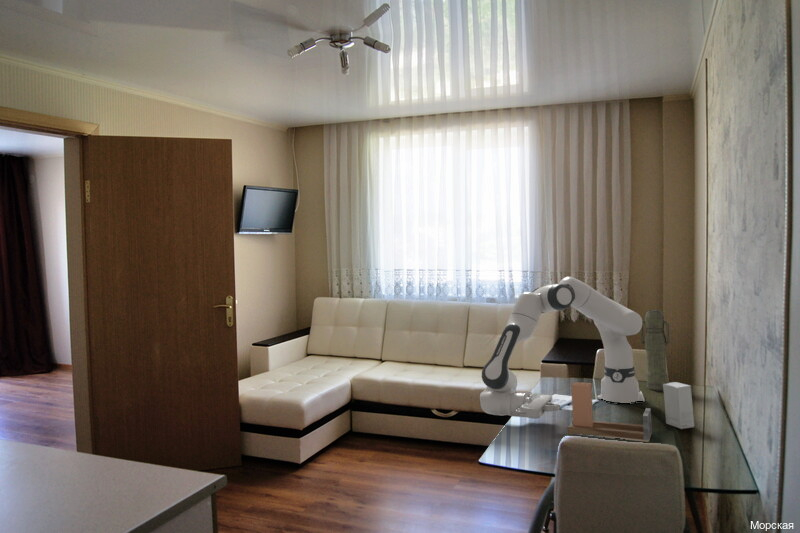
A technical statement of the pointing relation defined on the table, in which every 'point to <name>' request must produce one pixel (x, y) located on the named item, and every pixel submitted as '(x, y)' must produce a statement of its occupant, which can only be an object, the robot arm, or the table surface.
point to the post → (582, 404)
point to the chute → (617, 429)
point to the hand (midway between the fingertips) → (559, 407)
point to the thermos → (655, 349)
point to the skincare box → (678, 405)
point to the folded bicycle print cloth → (565, 401)
